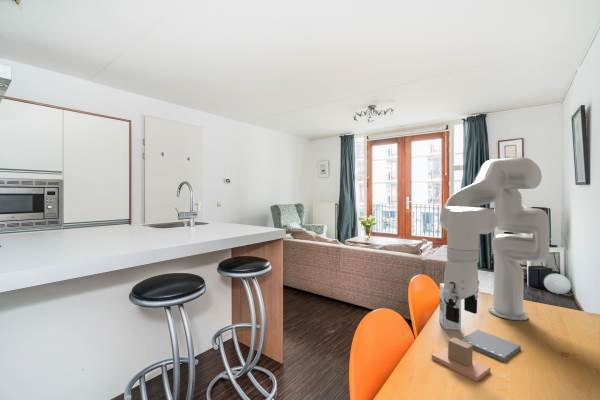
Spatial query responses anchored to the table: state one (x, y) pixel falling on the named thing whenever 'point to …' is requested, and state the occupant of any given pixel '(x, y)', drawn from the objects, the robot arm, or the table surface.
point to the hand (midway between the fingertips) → (461, 316)
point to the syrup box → (442, 313)
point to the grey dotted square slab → (491, 345)
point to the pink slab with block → (461, 359)
